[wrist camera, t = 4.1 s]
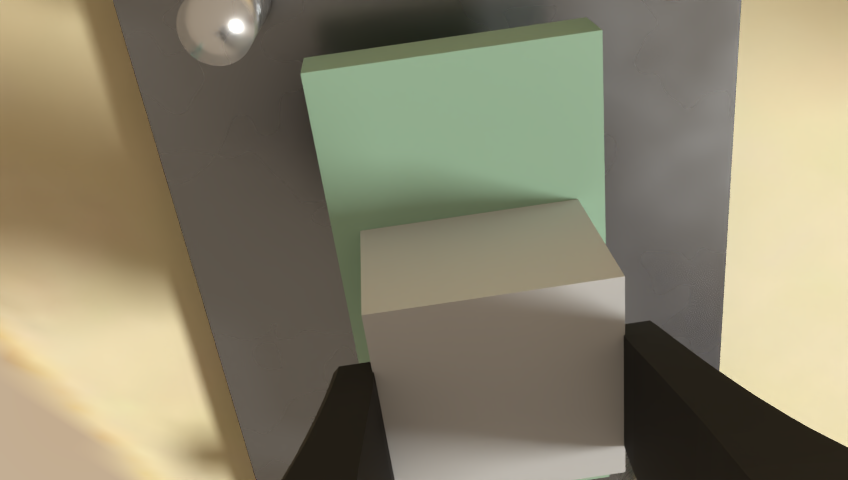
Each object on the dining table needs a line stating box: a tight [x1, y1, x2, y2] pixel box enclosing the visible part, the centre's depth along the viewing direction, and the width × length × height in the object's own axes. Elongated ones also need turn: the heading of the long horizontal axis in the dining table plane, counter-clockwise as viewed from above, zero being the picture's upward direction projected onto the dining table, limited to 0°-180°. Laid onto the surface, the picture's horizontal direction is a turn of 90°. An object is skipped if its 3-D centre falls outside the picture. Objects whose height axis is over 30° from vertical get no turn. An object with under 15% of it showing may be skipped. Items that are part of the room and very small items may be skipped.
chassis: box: [113, 0, 741, 480], centre depth 17 cm, size 16×12×4 cm
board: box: [300, 17, 625, 480], centre depth 14 cm, size 10×5×4 cm, turn 7°
